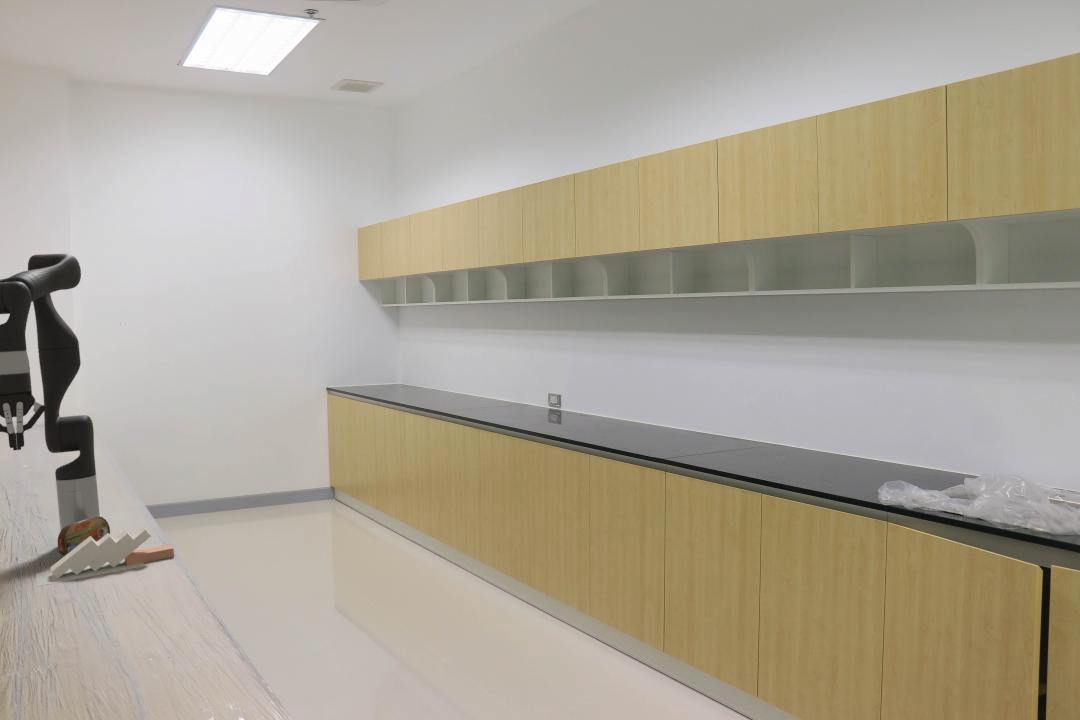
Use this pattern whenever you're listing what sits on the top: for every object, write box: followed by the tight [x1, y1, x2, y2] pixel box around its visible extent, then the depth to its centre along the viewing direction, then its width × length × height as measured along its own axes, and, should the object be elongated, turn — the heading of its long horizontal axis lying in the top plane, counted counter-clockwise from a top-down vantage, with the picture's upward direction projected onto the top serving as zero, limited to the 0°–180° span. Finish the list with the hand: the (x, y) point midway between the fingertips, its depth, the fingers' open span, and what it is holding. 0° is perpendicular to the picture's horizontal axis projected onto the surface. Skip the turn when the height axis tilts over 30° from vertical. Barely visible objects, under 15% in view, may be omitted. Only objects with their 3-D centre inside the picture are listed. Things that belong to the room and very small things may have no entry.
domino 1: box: [50, 536, 98, 579], centre depth 185 cm, size 5×2×10 cm
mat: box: [36, 558, 146, 587], centre depth 187 cm, size 12×21×1 cm, turn 122°
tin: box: [57, 516, 111, 558], centre depth 204 cm, size 15×3×8 cm, turn 168°
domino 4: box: [107, 525, 152, 568], centre depth 191 cm, size 5×2×10 cm
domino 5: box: [125, 544, 175, 566], centre depth 193 cm, size 5×2×10 cm
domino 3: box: [89, 529, 133, 571], centre depth 189 cm, size 5×2×10 cm
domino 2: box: [70, 533, 116, 575], centre depth 187 cm, size 5×2×10 cm
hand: (17, 449), depth 184 cm, fingers closed
